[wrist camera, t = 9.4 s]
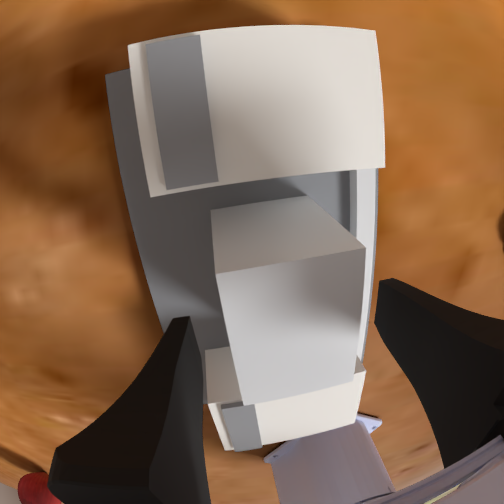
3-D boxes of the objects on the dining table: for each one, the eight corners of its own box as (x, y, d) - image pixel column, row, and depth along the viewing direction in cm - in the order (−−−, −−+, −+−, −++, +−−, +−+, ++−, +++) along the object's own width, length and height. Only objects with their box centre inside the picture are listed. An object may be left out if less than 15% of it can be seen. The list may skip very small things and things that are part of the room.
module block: (311, 302, 17) (353, 381, 12) (230, 317, 17) (243, 405, 11) (307, 195, 15) (365, 247, 9) (210, 209, 14) (215, 274, 9)
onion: (23, 469, 25) (12, 516, 18) (24, 455, 24) (11, 508, 16) (62, 486, 27) (55, 533, 20) (67, 475, 26) (59, 528, 18)
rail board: (354, 361, 22) (385, 416, 17) (191, 392, 21) (192, 458, 16) (359, 53, 13) (424, 37, 8) (112, 77, 12) (65, 61, 7)
